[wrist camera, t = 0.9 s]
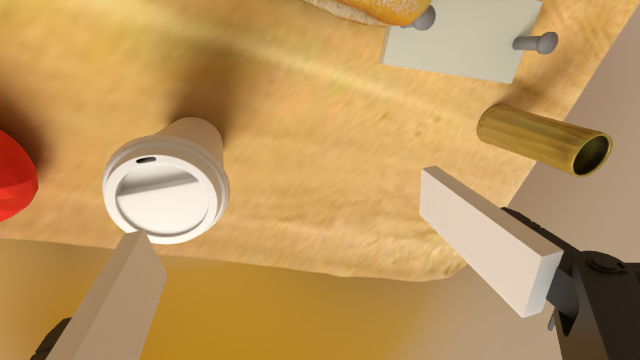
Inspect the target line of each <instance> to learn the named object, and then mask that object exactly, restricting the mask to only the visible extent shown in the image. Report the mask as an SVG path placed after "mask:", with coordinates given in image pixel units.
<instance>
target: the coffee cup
mask: <svg viewBox="0 0 640 360" xmlns="http://www.w3.org/2000/svg"><path fill="white" fill-rule="evenodd" d="M102 193H103V198H104V202H105V206H106V209H107V211H108V213H109V215H110V217H111V218H112V219H113V221H114V222H115V223H116V224H117V225H118V226H119V227H120V228H121V229H122V230H124V231H125V232H127V233H130V232H135V231H139V230H145V232H146V234H147V236H148V238H149V240H150V242H151V243H157V244H175V243H181V242H185V241H188V240H190V239H193V238H195V237H197V236H198V235H200V234H202V233H203V232H205V231H207V230H208V229H209V228H211V227H212V226H213V225H214V224H215V223H216V222H217V221H218V220H219V219H220V217H221V216H222V215H223V213H224V212H225V210H226V208H227V205H228V202H229V198H230V185H229V180H228V177H227V174H226V172H225V170H224V166H223V141H222V137H221V135H220V133H219V131H218V130H217V128H216V127H215V126H214V125H213V124H211V123H210V122H208V121H207V120H204V119H202V118H198V117H185V118H181V119H179V120H177V121H175V122H174V123H172V124H170V125H169V126H167V127H166V128H164V129H162V130H161V131H159V132H157V133H156V134H154V135H151V136H145V137H141V138H137V139H135V140H132V141H130V142H128V143H126V144H125V145H123V146H122V147H120V148H119V149H118V150H117V151H116V152H115V153H114V154H113V155H112V156H111V158H110V159H109V161H108V163H107V165H106V167H105V170H104V173H103V177H102Z"/></svg>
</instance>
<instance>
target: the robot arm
mask: <svg viewBox="0 0 640 360" xmlns="http://www.w3.org/2000/svg"><path fill="white" fill-rule="evenodd" d="M419 214H420V215H421V216H422V217H423V218H424V219H425V220H426V221H427V222H428V223H429V224H430V225H431V226H432V227H433V228H434V229H435V230H436V231H437V232H438V233H439V234H440V235H441V236H442V237H443V238H444V239H445V240H446V241H447V242H448V243H449V244H450V245H451V246H452V247H453V249H454V250H455V251H456V252H457V253H458V254H459V255H460V256H461V257H462V258H463V259H464V260H465V261H466V262H467V263H468V264H469V265H471V267H472V268H473V269H474V270H475V271H476V272H477V273H478V274H479V275H480V276H481V277H482V278H483V279H484V280H485V281H486V282H487V283H488V284H489V285H490V286H491V287H492V288H493V289H494V290H495V291H497V293H498V294H499V295H500V296H501V297H502V298H503V299H504V300H505V301H506V302H507V303H508V304H509V305H510V306H511V307H512V308H513V309H514V310H515V311H516V312H517V313H518V314H519V315H520V316H521V317H522V318H524V317H527V316H530V315H533V314H537V313H540V312H542V309H543V307H544V304H545V301H546V299H547V300H548V301H549V302H550V303H551V304H552V305H554V306H555V308H554V311H553V314H552V316H551V319H550V321H549V324H548V330H550V331H552V329H553V326H554V325H555V326H556V330H557V335H558V340H559V344H560V349H561V354H562V359H563V360H640V263H623V262H622V261H621V260H619V259H617V258H615V257H612V256H610V255H608V254H604V253H601V252H597V251H582V252H581V251H579V250H578V249H576V248H574V247H573V246H571V245H570V244H568V243H566V242H565V241H563V240H562V239H560V238H559V237H557V236H555V235H554V234H552V233H550V232H549V231H547V230H546V229H544V228H541V226H540V225H538V224H536V223H535V222H531V220H530V219H529V218H527V217H525V216H523V215H522V214H521V213H519V212H516V211H513V210H511V209H508V208H506V207H502V208H499V207H497V206H496V205H494V204H493V203H491V202H490V201H488V200H487V199H485V198H484V197H482V196H481V195H479V194H478V193H476V192H475V191H473V190H472V189H470V188H469V187H467V186H466V185H464V184H463V183H461V182H460V181H458V180H457V179H455V178H454V177H452V176H451V175H449V174H448V173H446V172H445V171H443V170H442V169H440V168H438V167H437V166H431V167H427V168H422V173H421V192H420V211H419ZM166 278H167V274H166V272H165V270H164V268H163V266H162V264H161V262H160V260H159V258H158V256H157V254H156V252H155V250H154V248H153V246H152V244H151V242H150V240H149V238H148V236H147V234H146V232H145V230H139V231H135V232H130V233H125V235H124V236H123V238H122V239H121V241H120V243H119V244H118V246H117V247H116V249H115V251H114V252H113V254H112V255H111V257H110V259H109V260H108V262H107V263H106V265H105V267H104V268H103V269H102V271H101V273H100V274H99V276H98V277H97V279H96V281H95V282H94V284H93V285H92V287H91V289H90V290H89V292H88V293H87V295H86V296H85V298H84V300H83V301H82V303H81V304H80V306H79V307H78V309H77V311H76V312H75V314H74V315H73V317H70V318H66V319H63V320H62V321H61V322H60V323H59V324H58V325H57V326H56V327H55V328H54V329H52V330H51V331H50V332H49V333H48V334H47V335H46V337H45V339H44V340H43V341H42V343H41V344H40V346H39V347H38V349H37V350H36V351H35V352H36V354H35V355H33V356H32V357H31V359H30V360H139V358H140V355H141V351H142V349H143V346H144V343H145V340H146V337H147V334H148V331H149V328H150V325H151V322H152V319H153V316H154V313H155V310H156V308H157V305H158V302H159V299H160V296H161V293H162V290H163V287H164V284H165V281H166Z"/></svg>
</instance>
